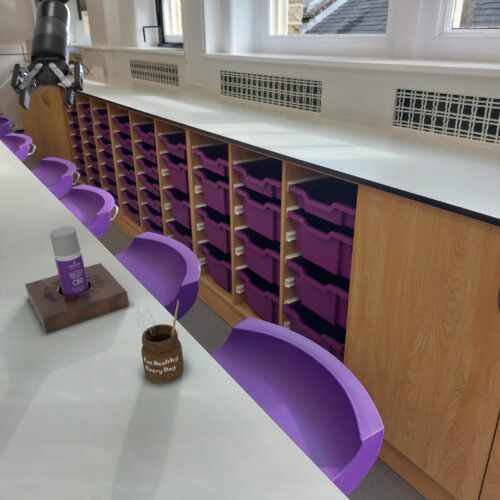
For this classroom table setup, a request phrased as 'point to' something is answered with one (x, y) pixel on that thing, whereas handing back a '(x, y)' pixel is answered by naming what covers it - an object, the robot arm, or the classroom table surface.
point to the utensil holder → (161, 351)
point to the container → (69, 260)
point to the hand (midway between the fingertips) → (45, 106)
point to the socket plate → (76, 299)
